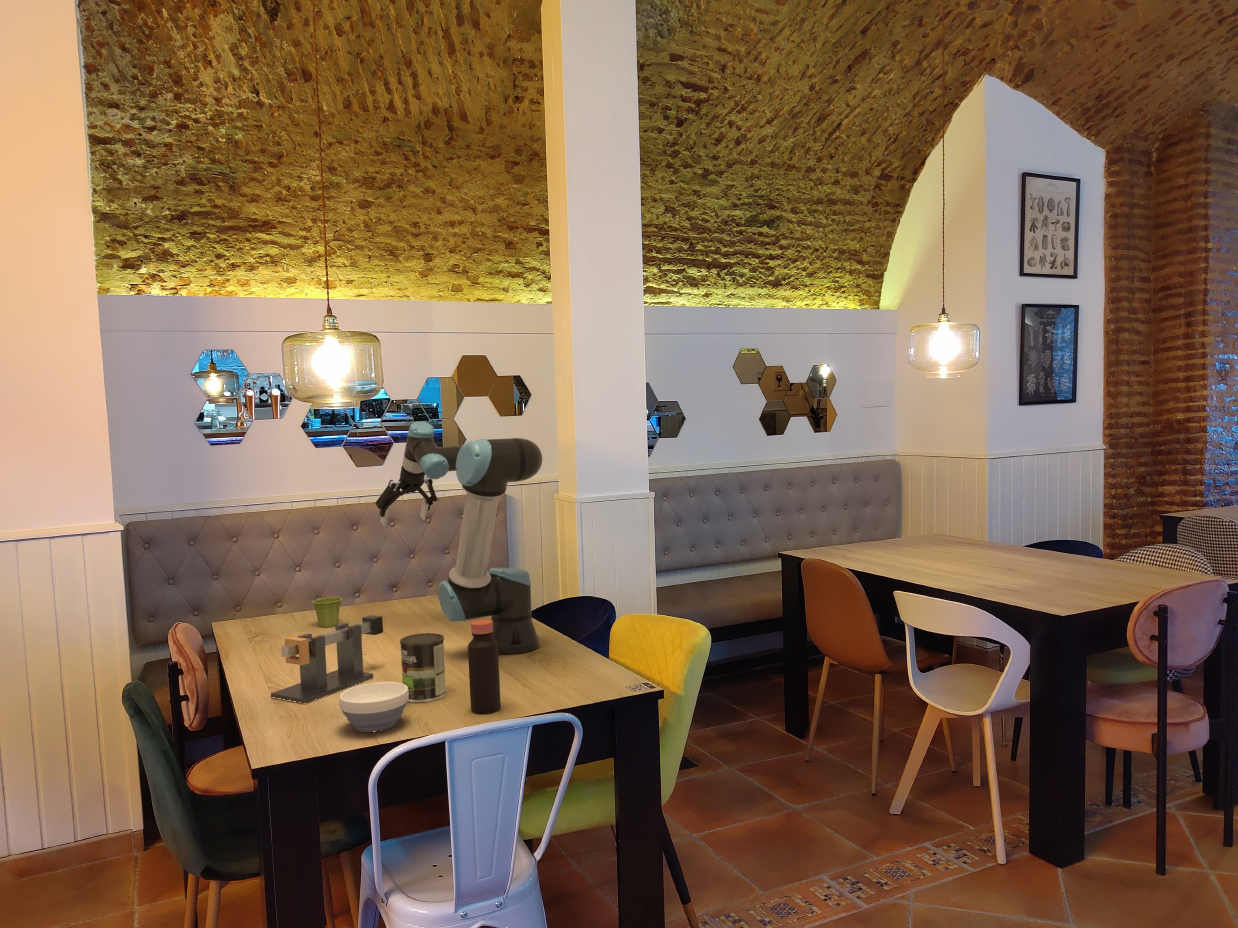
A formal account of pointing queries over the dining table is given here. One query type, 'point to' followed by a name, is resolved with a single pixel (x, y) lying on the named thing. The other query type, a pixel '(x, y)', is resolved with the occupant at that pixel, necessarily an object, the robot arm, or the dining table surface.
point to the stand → (315, 674)
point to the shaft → (340, 634)
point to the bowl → (374, 705)
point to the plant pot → (327, 611)
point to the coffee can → (423, 666)
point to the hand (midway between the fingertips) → (403, 520)
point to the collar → (302, 648)
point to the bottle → (483, 669)
